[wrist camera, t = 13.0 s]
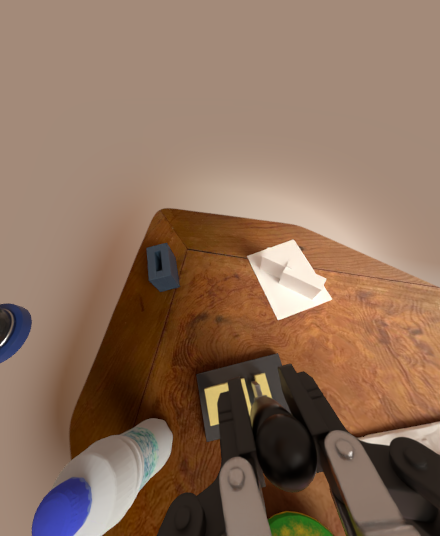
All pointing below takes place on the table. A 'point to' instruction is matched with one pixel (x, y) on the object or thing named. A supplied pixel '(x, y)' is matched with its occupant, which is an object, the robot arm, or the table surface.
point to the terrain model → (410, 436)
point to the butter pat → (263, 384)
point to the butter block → (212, 399)
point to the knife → (282, 444)
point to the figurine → (296, 525)
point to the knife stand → (162, 267)
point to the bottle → (103, 482)
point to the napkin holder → (288, 279)
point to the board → (247, 372)
